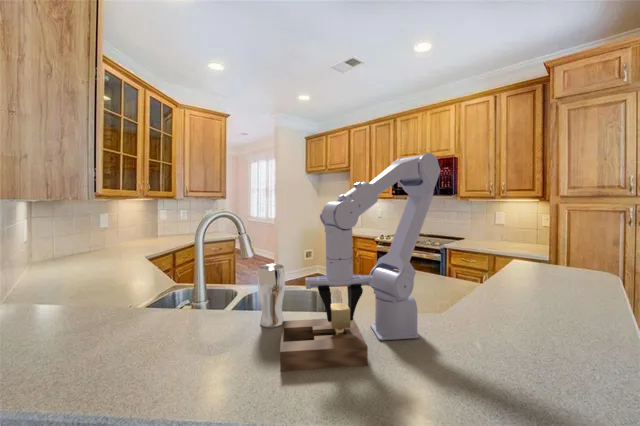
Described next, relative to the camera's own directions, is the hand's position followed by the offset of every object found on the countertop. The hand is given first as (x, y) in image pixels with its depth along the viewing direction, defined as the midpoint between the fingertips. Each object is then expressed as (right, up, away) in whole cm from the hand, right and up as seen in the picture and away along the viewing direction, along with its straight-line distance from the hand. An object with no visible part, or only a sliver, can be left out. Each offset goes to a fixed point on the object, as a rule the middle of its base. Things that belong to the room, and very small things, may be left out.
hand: (339, 319), depth 65 cm
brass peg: (0, -6, +1) cm, 6 cm away
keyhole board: (-4, -7, 0) cm, 8 cm away
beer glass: (-17, -6, +14) cm, 23 cm away
